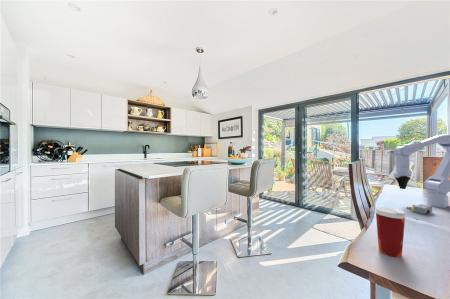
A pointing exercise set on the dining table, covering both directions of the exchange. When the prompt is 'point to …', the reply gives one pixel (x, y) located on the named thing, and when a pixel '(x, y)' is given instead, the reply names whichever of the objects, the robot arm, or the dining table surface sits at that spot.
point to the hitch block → (422, 209)
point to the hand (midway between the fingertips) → (402, 188)
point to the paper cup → (390, 230)
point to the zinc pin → (427, 212)
